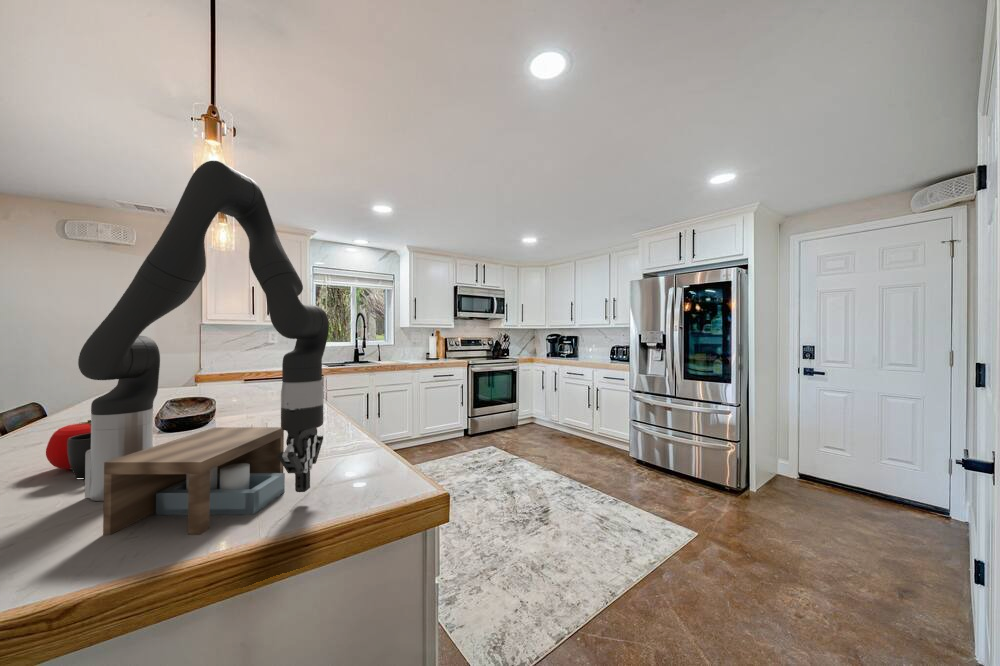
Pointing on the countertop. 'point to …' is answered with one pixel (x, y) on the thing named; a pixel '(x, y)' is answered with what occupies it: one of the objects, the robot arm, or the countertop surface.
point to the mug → (78, 453)
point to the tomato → (64, 443)
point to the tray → (226, 492)
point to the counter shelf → (184, 472)
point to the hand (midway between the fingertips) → (302, 490)
